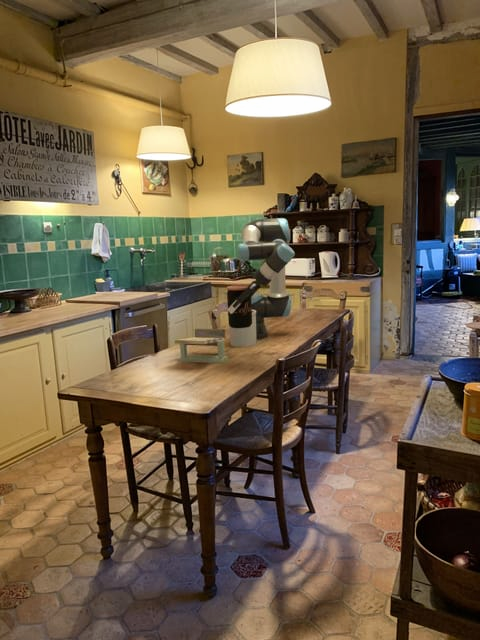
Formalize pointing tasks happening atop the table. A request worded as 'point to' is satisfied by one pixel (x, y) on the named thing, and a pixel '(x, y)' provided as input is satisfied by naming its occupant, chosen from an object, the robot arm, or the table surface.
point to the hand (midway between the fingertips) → (233, 309)
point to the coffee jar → (239, 308)
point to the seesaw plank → (204, 337)
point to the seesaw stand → (203, 358)
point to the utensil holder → (244, 334)
